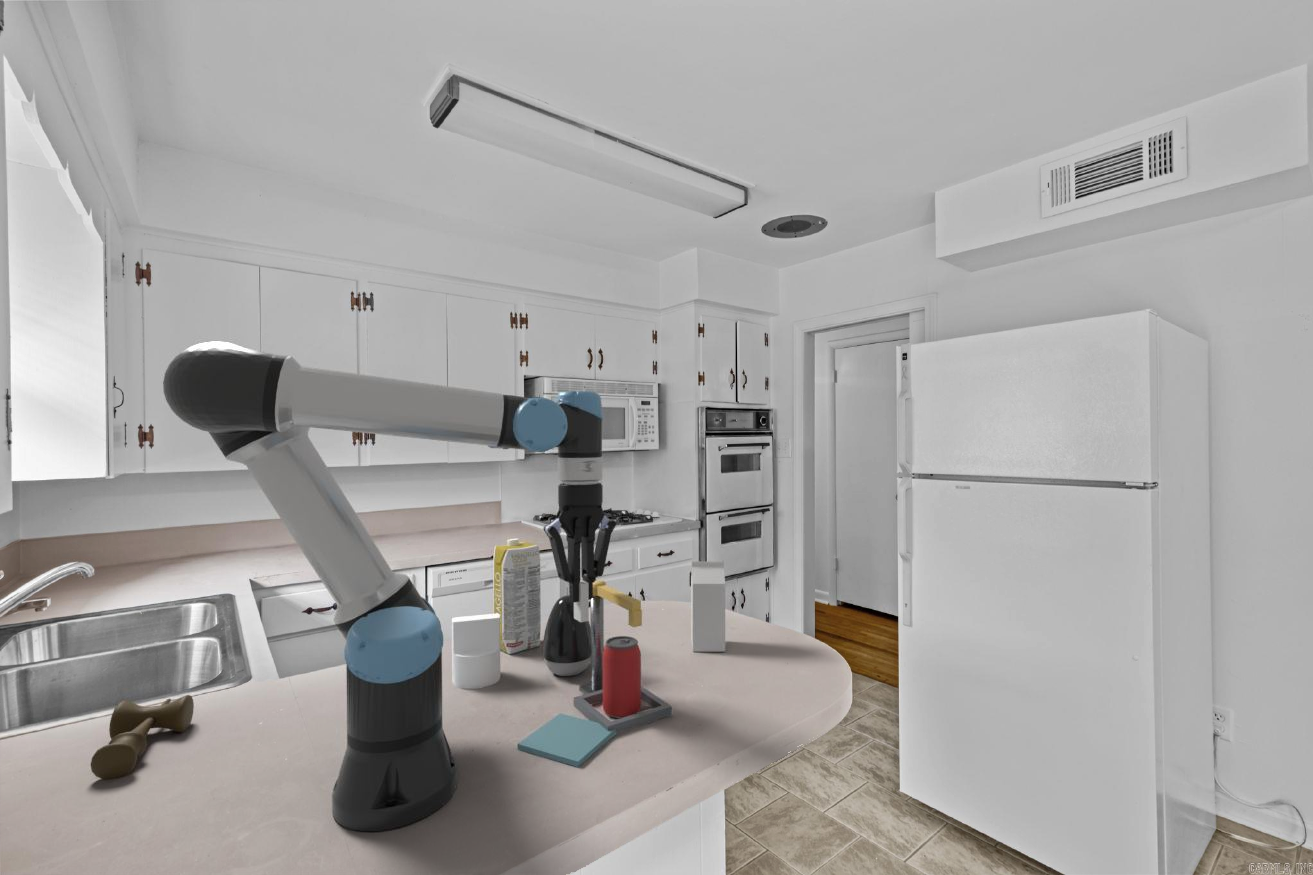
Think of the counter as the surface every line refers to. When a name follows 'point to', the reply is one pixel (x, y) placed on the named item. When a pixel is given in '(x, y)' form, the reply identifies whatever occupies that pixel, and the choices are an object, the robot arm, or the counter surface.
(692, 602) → the milk carton
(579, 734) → the mat
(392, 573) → the robot arm
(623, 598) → the clip arm
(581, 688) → the post
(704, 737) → the counter surface
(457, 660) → the base with upright slab
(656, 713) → the collar
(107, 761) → the kendama
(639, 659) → the beer can
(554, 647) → the pump dispenser
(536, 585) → the juice carton
